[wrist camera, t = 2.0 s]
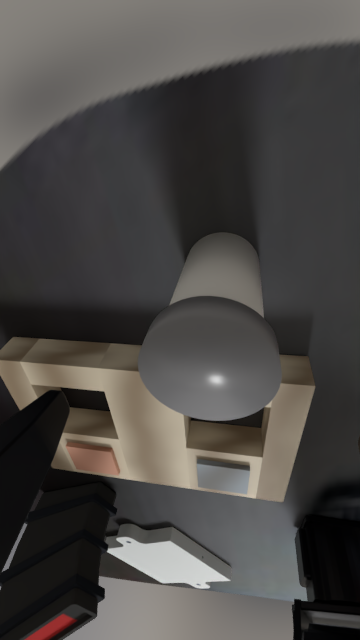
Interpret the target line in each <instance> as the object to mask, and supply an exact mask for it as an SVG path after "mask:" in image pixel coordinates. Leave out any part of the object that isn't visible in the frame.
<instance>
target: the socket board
mask: <svg viewBox="0 0 360 640" xmlns="http://www.w3.org/2000/svg"><path fill="white" fill-rule="evenodd" d="M141 346H142V345H129V344H114V343H99V342H84V341H69V340H54V339H39V338H24V337H13V338H12V339H11V340H10V341H9V342H8V343H7V344H6V345H5V346H4V347H3V348H2V349H1V350H0V376H1V378H2V379H3V381H4V383H5V385H6V386H7V388H8V390H9V392H10V393H11V395H12V397H13V399H14V400H15V402H16V404H17V406H18V408H19V409H20V410H22V409H23V408H25V407H26V406H27V405H29V404H30V403H32V402H33V401H34V400H36V399H37V398H39V397H40V396H41V395H43V394H44V393H45V392H47V391H49V390H61V388H60V387H63V388H74V389H84V390H94V391H104V392H105V395H106V399H107V402H108V405H109V408H110V412H109V411H100V410H91V409H82V408H72V407H70V413H69V416H68V419H67V422H66V425H65V428H64V431H63V434H62V437H61V439H60V442H59V445H58V448H57V451H56V454H55V456H54V459H53V461H52V464H51V466H52V467H53V468H55V469H61V470H68V471H75V472H81V473H88V474H95V475H102V476H108V477H115V478H122V479H128V480H135V481H142V482H149V483H155V484H162V485H169V486H176V487H182V488H189V489H196V490H202V491H209V492H216V493H223V494H229V495H236V496H243V497H249V498H256V499H263V500H270V501H276V502H283V501H284V497H285V493H286V490H287V486H288V483H289V479H290V476H291V472H292V468H293V465H294V461H295V458H296V454H297V451H298V447H299V443H300V440H301V436H302V433H303V429H304V425H305V422H306V418H307V415H308V411H309V408H310V404H311V400H312V397H313V393H314V390H315V382H314V378H313V374H312V370H311V366H310V361H309V357H308V356H294V355H280V363H281V371H282V379H281V384H280V388H279V390H278V392H277V394H276V396H275V397H274V398H273V400H272V401H271V402H270V403H269V404H268V405H266V406H265V407H264V413H263V419H262V426H261V428H257V427H247V426H238V425H229V424H220V423H210V422H201V421H192V420H191V417H189V416H186V415H183V414H181V413H178V412H176V411H174V410H172V409H170V408H168V407H167V406H165V405H164V404H162V403H161V402H160V401H158V400H157V399H156V398H155V397H154V396H153V395H152V394H151V393H150V392H149V391H148V389H147V388H146V387H145V385H144V383H143V381H142V379H141V377H140V374H139V370H138V356H139V352H140V349H141ZM61 391H62V390H61Z"/></svg>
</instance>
